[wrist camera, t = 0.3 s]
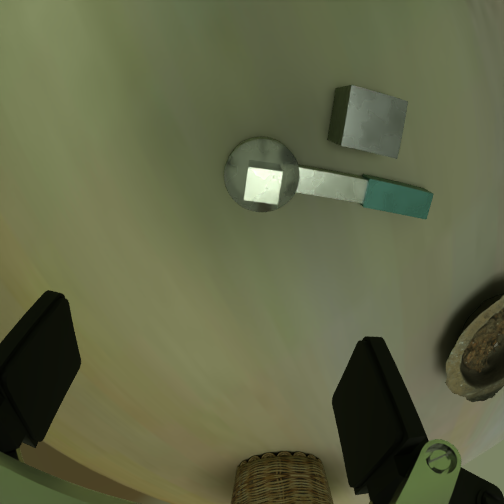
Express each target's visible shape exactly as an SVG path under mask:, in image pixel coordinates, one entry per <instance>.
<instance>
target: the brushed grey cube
mask: <svg viewBox="0 0 504 504" xmlns="http://www.w3.org/2000/svg"><path fill="white" fill-rule="evenodd" d="M407 105H408V101H405V100H402V99H399V98H396V97H393V96H389V95H386V94H383V93H379V92H376V91H372V90H369V89H365V88H361V87H358V86H354V85H349V86H344V87H340V88H336V90H335V96H334V103H333V109H332V115H331V121H330V127H329V132H328V138H327V140H329V141H332V142H334V143H336V144H338V145H341V146H345V147H349V148H354V149H358V150H363V151H367V152H371V153H376V154H380V155H384V156H388V157H392V158H396V159H397V158H398V153H399V148H400V143H401V138H402V133H403V128H404V122H405V117H406V111H407Z"/></svg>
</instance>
